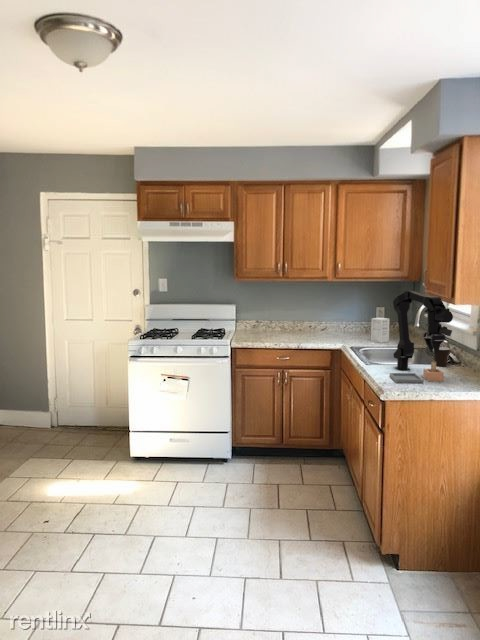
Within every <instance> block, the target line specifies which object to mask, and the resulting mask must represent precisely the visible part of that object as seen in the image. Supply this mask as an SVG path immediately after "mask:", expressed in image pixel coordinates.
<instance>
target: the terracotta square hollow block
mask: <svg viewBox="0 0 480 640" xmlns="http://www.w3.org/2000/svg"><path fill="white" fill-rule="evenodd" d="M444 373H445V372H443V371H442V370H440V369H439V368H436V372H431V368H423V373H422V374H423V375H422V379H423V380H426V381H427V382H444Z"/></svg>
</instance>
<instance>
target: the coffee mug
mask: <svg viewBox="0 0 480 640" xmlns="http://www.w3.org/2000/svg"><path fill="white" fill-rule="evenodd" d="M449 356H450V348H449V347H445V346H444V347H443V346H440V348H439V351H438V354H435V352H434V349H433V361H434V362H436V368H438V367H439V368H447V366H448V361H449Z"/></svg>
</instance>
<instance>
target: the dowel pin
mask: <svg viewBox="0 0 480 640" xmlns="http://www.w3.org/2000/svg"><path fill="white" fill-rule="evenodd" d="M430 369H431V372H436V369H437V366H436V362H434V360H433V361H431V363H430Z"/></svg>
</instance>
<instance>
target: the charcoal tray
mask: <svg viewBox="0 0 480 640" xmlns="http://www.w3.org/2000/svg"><path fill="white" fill-rule="evenodd" d="M389 378H390V379H391V380H392V381H393V383H395V384H414V385H415V384H417V385H419V384H421V385H422V384H423V385H424V380H425V379H424V378H423V377H421V376H420V375H418V374H417V373H416V372H412V373H411V372H389Z"/></svg>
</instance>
